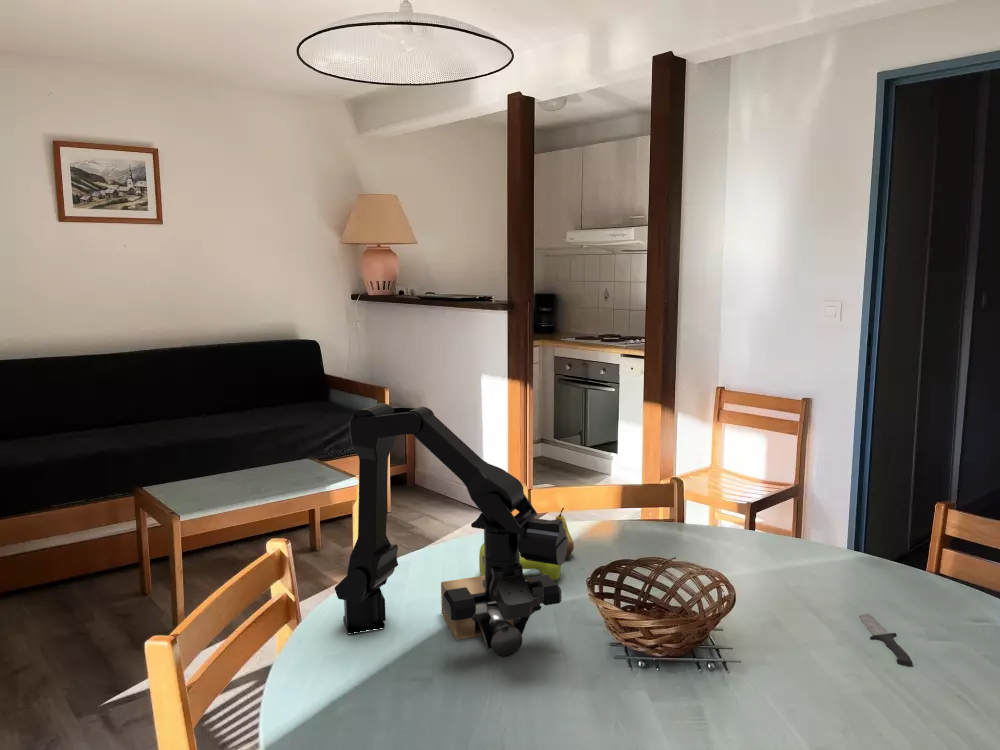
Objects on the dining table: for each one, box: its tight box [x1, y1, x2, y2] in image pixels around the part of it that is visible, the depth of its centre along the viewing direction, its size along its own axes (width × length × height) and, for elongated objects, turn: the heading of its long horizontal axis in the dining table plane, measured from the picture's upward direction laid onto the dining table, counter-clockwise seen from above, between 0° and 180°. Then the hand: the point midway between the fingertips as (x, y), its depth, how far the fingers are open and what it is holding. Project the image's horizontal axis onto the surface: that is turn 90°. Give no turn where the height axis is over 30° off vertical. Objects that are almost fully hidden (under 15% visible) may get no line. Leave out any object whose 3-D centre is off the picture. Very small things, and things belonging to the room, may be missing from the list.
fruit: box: [554, 507, 575, 559], centre depth 164 cm, size 6×6×12 cm
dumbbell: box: [478, 542, 562, 581], centre depth 154 cm, size 16×8×7 cm, turn 92°
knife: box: [858, 613, 913, 667], centre depth 131 cm, size 22×1×5 cm
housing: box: [440, 575, 513, 641], centre depth 136 cm, size 12×10×6 cm
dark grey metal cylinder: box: [477, 603, 523, 658], centre depth 130 cm, size 5×15×5 cm, turn 19°
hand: (502, 645), depth 125 cm, fingers closed on dark grey metal cylinder, 4 cm apart
